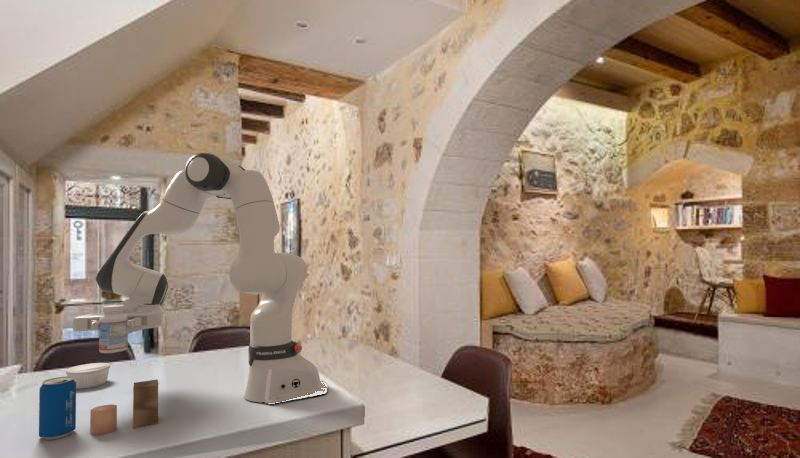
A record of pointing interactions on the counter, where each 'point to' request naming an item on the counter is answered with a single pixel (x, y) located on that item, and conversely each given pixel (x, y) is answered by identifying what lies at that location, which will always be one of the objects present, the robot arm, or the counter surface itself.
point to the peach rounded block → (103, 419)
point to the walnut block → (145, 403)
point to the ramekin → (89, 374)
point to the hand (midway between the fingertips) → (112, 325)
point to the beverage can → (57, 408)
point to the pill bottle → (113, 329)
